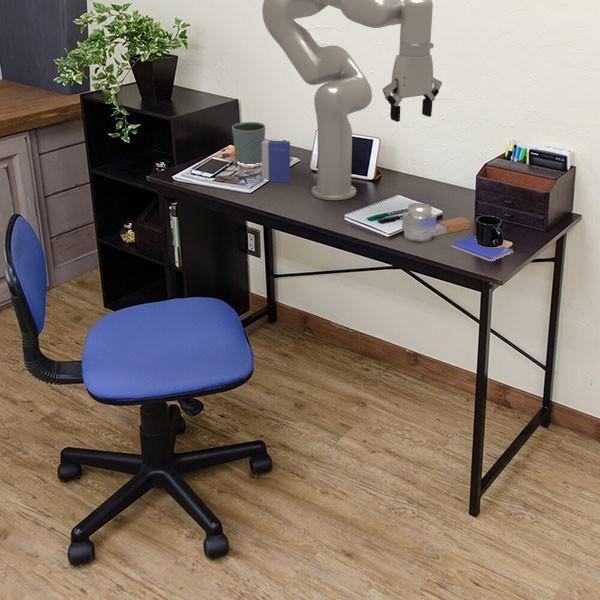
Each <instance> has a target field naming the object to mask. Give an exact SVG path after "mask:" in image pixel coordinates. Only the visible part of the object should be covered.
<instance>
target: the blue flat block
mask: <svg viewBox="0 0 600 600" xmlns="http://www.w3.org/2000/svg"><path fill="white" fill-rule="evenodd" d="M476 237H477V236H475V235H469V236H467V237H465V238H462V239H459V240H456V241H454V242H452V243H451V247H452V248H454V249H457V250H459V251H462V252H463V253H464V252H465V253H467V254H470V255H472V256H475V257H478V258H480V259H483V260H485V261H488V262H490V261H491V263H492V261H493V262H495V261H497V260H499V258H500V259H502V258H504V256H505V257H506V255H507V256H509V255H512V254H513V253H514V250H513V249H512V248H509V247H505V246H504V247H503V245H501V246H502V247H500V248H490V247H485V246H481V245H479V244H477V243H476V240H475V239H476ZM511 253H512V254H511ZM496 259H497V260H496Z"/></svg>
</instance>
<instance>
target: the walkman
mask: <svg viewBox="0 0 600 600" xmlns="http://www.w3.org/2000/svg"><path fill="white" fill-rule="evenodd" d="M261 172H262V175H261V177H262V179H266V180H268V181H267V182H273V183H289V182H290V181H291V141H289V140H288V141H287V139H286V140H285V139H282V140H274V139H273V140H272V139H271V140H270V139H269V140H268V139H264V141H263V142H262V166H261ZM262 179H261V180H262Z"/></svg>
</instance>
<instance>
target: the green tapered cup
mask: <svg viewBox="0 0 600 600" xmlns="http://www.w3.org/2000/svg"><path fill="white" fill-rule="evenodd" d="M231 131H232V136H233V146H234V153H235V162H236V161H238V162H240V163H244V164H256V163H261V162H262V142H263V141H264V140H266V138H265V135H266V125H265V124H264V123H261V122H255V121H247V122H245V121H244V122H239V123H235V124H233V125H232V126H231Z"/></svg>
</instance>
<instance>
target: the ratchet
mask: <svg viewBox="0 0 600 600" xmlns="http://www.w3.org/2000/svg"><path fill="white" fill-rule="evenodd" d="M470 226H471V221H470V220H468V219H466V217H465V218H464V217H463V216H459V217H455V218H450V219H445V220H442V221H439V223H436V231H435V232H430V233H426V234H421V235H417V236H415V235H414V234H412V233H410V232H408V231H407V230H405V229H403V238H404V239H405V240H406V241H410V242H412V243H426V242H429V241H431V240H432V239H433V237H435V236H437V237H438V236H441V235H445V234H452V233H456V232H460V231H465V230H470V228H471V227H470Z"/></svg>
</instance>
